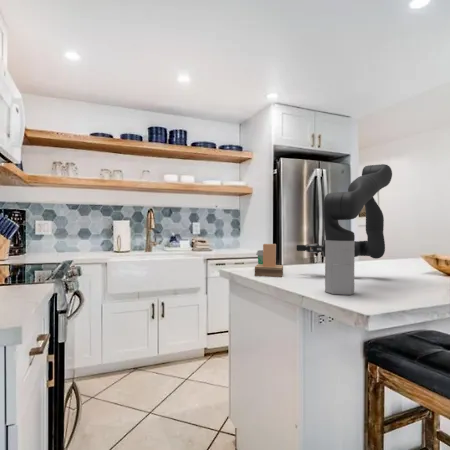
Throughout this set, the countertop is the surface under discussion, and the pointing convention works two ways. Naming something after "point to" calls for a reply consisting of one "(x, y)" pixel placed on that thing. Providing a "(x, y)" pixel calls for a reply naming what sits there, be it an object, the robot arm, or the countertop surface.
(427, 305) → the countertop surface
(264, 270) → the walnut base block
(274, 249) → the orange brick
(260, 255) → the food container
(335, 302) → the countertop surface
